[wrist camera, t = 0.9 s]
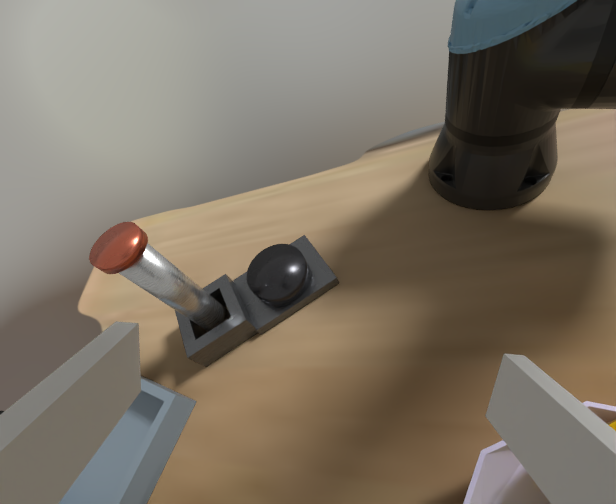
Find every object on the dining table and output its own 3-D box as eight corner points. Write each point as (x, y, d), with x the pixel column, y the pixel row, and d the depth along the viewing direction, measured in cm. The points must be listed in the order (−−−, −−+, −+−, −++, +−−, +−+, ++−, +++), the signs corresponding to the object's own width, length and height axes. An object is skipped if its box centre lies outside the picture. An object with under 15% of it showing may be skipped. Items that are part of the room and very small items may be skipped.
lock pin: (218, 305, 44) (113, 219, 29) (245, 312, 42) (148, 224, 27) (201, 336, 42) (79, 262, 27) (229, 346, 40) (113, 271, 25)
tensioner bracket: (307, 240, 46) (299, 224, 43) (339, 283, 40) (332, 267, 37) (190, 315, 44) (173, 304, 41) (207, 370, 39) (188, 361, 36)
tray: (117, 364, 43) (93, 356, 40) (196, 401, 37) (175, 394, 34) (38, 489, 37) (2, 491, 33) (118, 561, 30) (83, 571, 27)
